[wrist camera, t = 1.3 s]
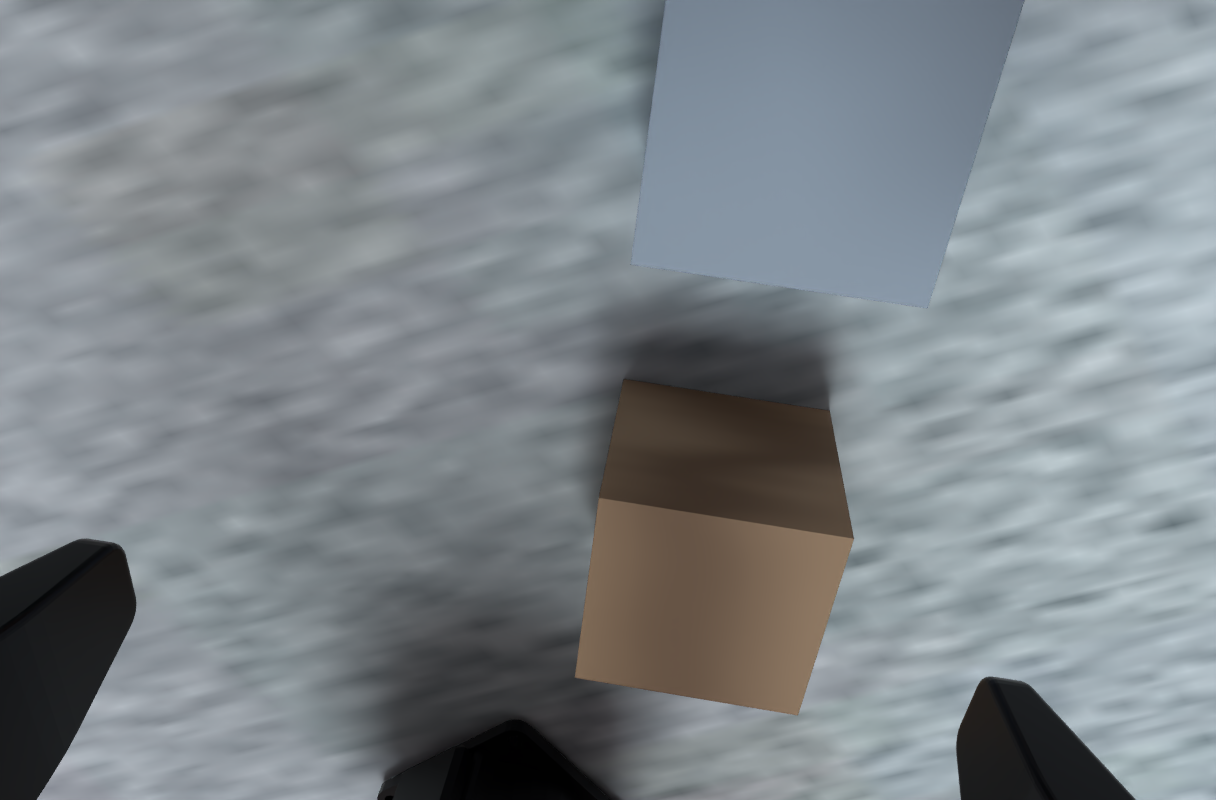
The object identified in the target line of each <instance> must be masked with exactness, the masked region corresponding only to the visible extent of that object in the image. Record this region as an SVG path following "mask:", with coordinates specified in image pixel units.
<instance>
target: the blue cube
mask: <svg viewBox="0 0 1216 800" xmlns="http://www.w3.org/2000/svg"><path fill="white" fill-rule="evenodd" d="M1023 4H1024V0H666V1H665V9H664V16H663V24H662V32H661V39H660V47H659V54H658V62H657V69H656V77H655V84H654V92H653V100H652V107H651V115H650V122H649V130H648V137H647V145H646V152H645V160H644V167H643V175H642V183H641V190H640V198H639V205H638V213H637V220H636V228H635V235H634V243H633V250H632V258H631V265H637V266H643V267H650V268H657V269H664V270H671V271H677V272H684V273H691V274H698V275H704V276H711V277H718V278H725V279H732V280H738V281H745V282H752V283H759V284H766V285H772V286H779V287H786V288H793V289H800V290H806V291H813V292H820V293H827V294H834V295H840V296H847V297H854V298H861V299H867V300H874V301H881V302H888V303H895V304H901V305H908V306H915V307H922V308H928V305H929V302H930V299H931V296H932V293H933V289H934V286H935V283H936V280H937V277H938V274H939V270H940V267H941V264H942V261H943V258H944V254H945V251H946V248H947V245H948V242H949V239H950V235H951V232H952V229H953V226H954V223H955V220H956V216H957V213H958V210H959V207H960V204H961V200H962V197H963V194H964V191H965V188H966V185H967V181H968V178H969V175H970V172H971V169H972V166H973V162H974V159H975V156H976V153H977V150H978V146H979V143H980V140H981V137H982V134H983V131H984V127H985V124H986V121H987V118H988V115H989V112H990V108H991V105H992V102H993V99H994V96H995V92H996V89H997V86H998V83H999V80H1000V77H1001V73H1002V70H1003V67H1004V64H1005V61H1006V58H1007V54H1008V51H1009V48H1010V45H1011V42H1012V38H1013V35H1014V32H1015V29H1016V26H1017V23H1018V19H1019V16H1020V13H1021V10H1022V7H1023Z"/></svg>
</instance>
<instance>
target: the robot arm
mask: <svg viewBox="0 0 1216 800" xmlns="http://www.w3.org/2000/svg"><path fill="white" fill-rule="evenodd" d="M135 612H136V596H135V592H134V588H133V584H132V579H131V575H130V571H129V567H128V562H127V558H126V554H125V552H124V550H123V549H122V547H121V546H120V545H118V544H116V543H112V542H106V541H99V540H92V539H79V540H76V541H73V542H71V543H69V544H67V545H65V546H62V547H60V548H58V549H56V550H54V551H52V552H50V553H48V554H46V555H44V556H42V557H40V558H38V559H36V560H34V561H32V562H29V563H27V564H25V565H23V566H21V567H19V568H17V569H15V570H13V571H11V572H9V573H7V574H5V575H3V576H1V577H0V800H37V798H38V797H39V795H40V793H41V792H42V790H43V789H44V787H45V786H46V784H47V783H48V781H49V779H50V778H51V776H52V775H53V773H54V771H55V770H56V768H57V767H58V765H59V763H60V762H61V760H62V758H63V757H64V755H65V753H66V752H67V750H68V748H69V746H70V744H71V743H72V741H73V739H74V737H75V735H76V733H77V731H78V730H79V728H80V726H81V724H82V722H83V720H84V718H85V716H86V714H87V712H88V710H89V708H90V706H91V704H92V702H93V700H94V698H95V696H96V694H97V692H98V690H99V688H100V686H101V684H102V682H103V680H104V678H105V676H106V674H107V672H108V670H109V668H110V666H111V664H112V662H113V660H114V658H115V656H116V654H117V652H118V650H119V648H120V646H121V644H122V642H123V640H124V638H125V636H126V634H127V632H128V631H129V629H130V627H131V624H132V622H133V619H134V616H135ZM956 753H957V764H958V774H959V785H960V795H961V800H1136V799H1135V798H1134V797H1133V796H1132V795H1131V794H1130V793H1129V792H1128V791H1127V790H1126V789H1125V787H1124V786H1123V785H1122V784H1121V783H1120V782H1119V781H1118V780H1117V779H1116V778H1115V777H1114V776H1113V774H1112V773H1111V772H1110V771H1109V770H1108V769H1107V768H1106V767H1105V766H1104V765H1103V764H1102V763H1101V761H1100V760H1099V759H1098V758H1097V757H1096V756H1095V755H1094V754H1093V753H1092V752H1091V751H1090V750H1089V748H1088V747H1087V746H1086V745H1085V744H1084V743H1083V742H1082V741H1081V740H1080V739H1079V738H1078V737H1077V735H1076V734H1075V733H1074V732H1073V731H1072V730H1071V729H1070V728H1069V727H1068V726H1067V725H1066V724H1065V722H1064V721H1063V720H1062V719H1061V718H1060V717H1059V716H1058V715H1057V714H1056V713H1055V712H1054V711H1053V709H1052V708H1051V707H1050V706H1049V705H1048V704H1047V703H1046V702H1045V701H1044V700H1043V699H1042V698H1041V696H1040V695H1039V694H1038V693H1037V692H1036V691H1035V690H1034V689H1033V688H1032V687H1031V686H1030V685H1028V684H1027V683H1025V682H1022V681H1017V680H1011V679H1004V678H998V677H986V678H984V679H982V680H981V681H980V683H979V685H978V686H977V688H976V691H975V693H974V695H973V698H972V700H971V702H970V704H969V707H968V709H967V711H966V714H965V716H964V718H963V720H962V723H961V725H960V728H959V730H958V735H957V742H956ZM377 799H378V800H610V799H609V798H608V797H607V796H606V795H605V794H604V793H603V792H602V791H601V790H599V789H598V788H597V787H596V786H595V785H594V784H593V783H592V782H591V781H590V780H589V779H588V778H586V777H585V776H584V775H583V774H582V773H581V772H580V771H579V770H578V769H577V768H576V767H575V766H573V765H572V764H571V763H570V762H569V761H568V760H567V759H566V758H565V757H564V756H563V755H562V754H560V753H559V752H558V751H557V750H556V749H555V748H554V747H553V746H552V745H551V744H550V743H549V742H548V741H546V740H545V739H544V738H543V737H542V736H541V735H540V734H539V733H538V732H537V731H536V730H535V729H533V728H532V727H531V726H530V725H529V724H527V723H526V722H524V721H520V720H510V721H507V722H505V723H503V724H501V725H499V726H497V727H495V728H493V729H491V730H489V731H487V732H485V733H483V734H481V735H479V736H477V737H475V738H473V739H470V740H468V741H466V742H464V743H462V744H460V745H458V746H456V747H453V748H451V749H449V750H447V751H445V752H443V753H441V754H439V755H437V756H435V757H433V758H431V759H429V760H427V761H425V762H423V763H421V764H419V765H417V766H415V767H413V768H410V769H408V770H406V771H404V772H403V773H402V774H400V775H398V776H396V777H394V778H391V779H389V780H387V781H385V782H384V783H383V784H382V786H381V789H380V791H379V794H378V797H377Z"/></svg>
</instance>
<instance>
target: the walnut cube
mask: <svg viewBox="0 0 1216 800" xmlns="http://www.w3.org/2000/svg"><path fill="white" fill-rule="evenodd" d="M853 540H854V537H853V532H852V526H851V521H850V516H849V510H848V505H847V500H846V495H845V489H844V484H843V479H842V473H841V468H840V463H839V458H838V452H837V447H836V442H835V436H834V431H833V426H832V421H831V415H830V411H828V410H822V409H815V408H809V407H802V406H796V405H789V404H783V403H776V402H770V401H763V400H757V399H750V398H744V397H737V396H731V395H724V394H718V393H711V392H705V391H698V390H692V389H685V388H679V387H672V386H666V385H660V384H653V383H647V382H640V381H634V380H627V379H624V380H623V384H622V389H621V394H620V399H619V404H618V408H617V413H616V418H615V423H614V428H613V432H612V437H611V442H610V447H609V452H608V456H607V461H606V466H605V471H604V476H603V480H602V485H601V490H600V495H599V500H598V508H597V515H596V523H595V530H594V538H593V545H592V553H591V560H590V568H589V575H588V583H587V590H586V598H585V605H584V613H583V620H582V628H581V635H580V643H579V650H578V658H577V665H576V673H575V678H580V679H586V680H592V681H598V682H604V683H610V684H615V685H621V686H627V687H633V688H639V689H645V690H651V691H657V692H663V693H669V694H675V695H681V696H686V697H692V698H698V699H704V700H710V701H716V702H722V703H728V704H734V705H740V706H746V707H752V708H757V709H763V710H769V711H775V712H781V713H787V714H793V715H798V713H799V710H800V707H801V704H802V701H803V698H804V694H805V691H806V688H807V685H808V682H809V679H810V676H811V672H812V669H813V666H814V663H815V660H816V657H817V653H818V650H819V647H820V644H821V641H822V638H823V635H824V631H825V628H826V625H827V622H828V619H829V616H830V612H831V609H832V606H833V603H834V600H835V597H836V594H837V590H838V587H839V584H840V581H841V578H842V575H843V571H844V568H845V565H846V562H847V559H848V556H849V553H850V549H851V546H852V543H853Z"/></svg>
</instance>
